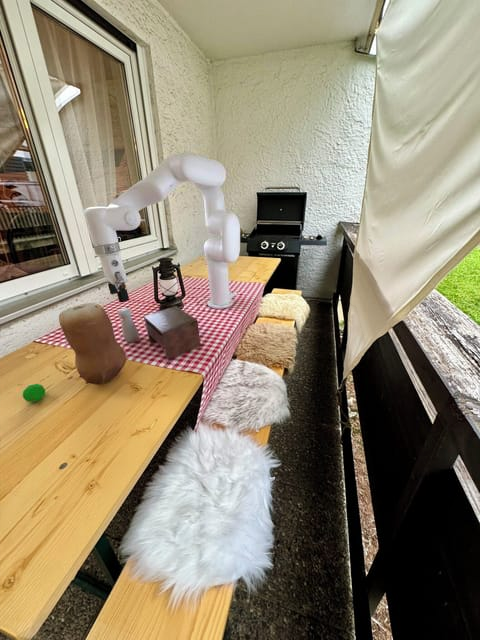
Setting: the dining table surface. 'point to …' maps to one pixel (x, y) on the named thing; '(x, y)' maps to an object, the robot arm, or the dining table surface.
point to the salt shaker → (128, 326)
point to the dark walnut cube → (173, 331)
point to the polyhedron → (34, 392)
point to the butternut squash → (92, 342)
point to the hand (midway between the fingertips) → (119, 297)
